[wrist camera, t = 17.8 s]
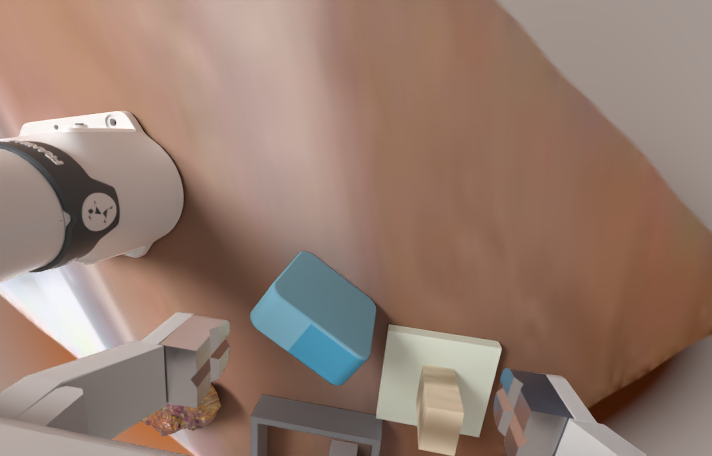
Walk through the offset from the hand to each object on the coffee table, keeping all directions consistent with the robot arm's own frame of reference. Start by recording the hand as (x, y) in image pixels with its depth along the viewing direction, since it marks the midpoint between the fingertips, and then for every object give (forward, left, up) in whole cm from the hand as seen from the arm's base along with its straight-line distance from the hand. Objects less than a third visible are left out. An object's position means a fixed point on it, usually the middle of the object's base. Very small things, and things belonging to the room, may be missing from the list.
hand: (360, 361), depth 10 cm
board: (+9, -24, -30) cm, 40 cm away
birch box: (+9, -24, -29) cm, 39 cm away
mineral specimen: (-27, -35, -31) cm, 54 cm away
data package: (-6, -13, -30) cm, 34 cm away
